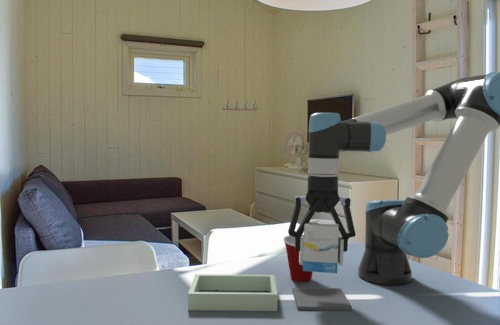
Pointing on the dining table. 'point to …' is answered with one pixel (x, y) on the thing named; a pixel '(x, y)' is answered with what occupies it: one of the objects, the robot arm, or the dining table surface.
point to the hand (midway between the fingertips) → (320, 263)
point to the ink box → (320, 246)
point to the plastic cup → (295, 261)
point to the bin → (233, 293)
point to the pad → (320, 299)
